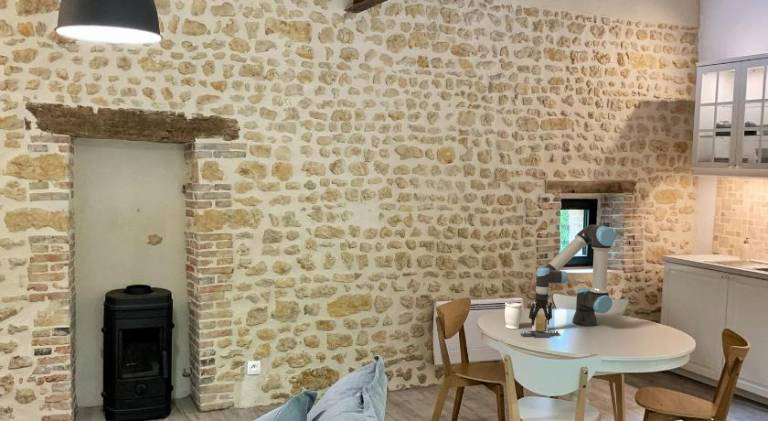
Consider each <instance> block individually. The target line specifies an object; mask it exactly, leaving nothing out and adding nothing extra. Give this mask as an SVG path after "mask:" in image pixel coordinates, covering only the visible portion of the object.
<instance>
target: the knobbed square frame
mask: <svg viewBox="0 0 768 421" xmlns="http://www.w3.org/2000/svg"><path fill="white" fill-rule="evenodd" d="M520 335H521V336H520V337H522V336H523V337H522V338H535V339H549V338H551V337H560V332H559V331H558V330H547V331H545V330H544V331H534V330H528V331H521V333H520Z"/></svg>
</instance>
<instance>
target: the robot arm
mask: <svg viewBox="0 0 768 421" xmlns="http://www.w3.org/2000/svg"><path fill="white" fill-rule="evenodd" d="M615 241H616V233H615V231H614V230H613V229H612V228H611V227H608V226H606V225H599V224H590V225H587V226H586V227H584V228H583V229H581V230H580V231H579V232H577V234H576V235H574V238H573V240H571V242H569V244H568V245H566V247H564V248H563V249H562V250H561V251H560V252H559V253H558V254H557V255H555V257H554V258H553V259H552V260H551V261H550V262H548V263H547V264H546V266H541V267H538V268H537V269H536V278H535V280H536V282H535V296H534V297H535V301H534V302H530V308H529V309H530V310H529V314H528V319H530V320H531V325H532V326H531V327H532V330H531V331H536V316H537V314H539V311H540V309H542V310H543V314H544V315H545V329H544V331H545V332H548V325H549V324H550V321H551V319H553V310H552V306H553V302H550V301H549V289H550V286H549V285H550V284H560V285H561V284H565V283H567V282H568V278H569V277H568V274H567V271H565V270H561V269H562V268H563V267H564V266H566V264H567V263H568V262H569V261H571V259H572V258H574V257H575V255H577V254H578V253H579V252H580V251H581V250H582V249H583V248H585V247H587V246H589V245H590V244H591V247H590V248H591V249H593V261H592V284H591V285H592V286H591V287H579V288H578V289H577V291H576V303H575V305H576V306H575V312H574V315H573V317H572V323H573V324H576V325H578V326H586V327H594V326H597V324H598V320H597V316H596V313H598V314H599V313H600V314H605V313H607V312H609V311H610V310H611V308H612V306H613V299H612V298H611V297H610V291H609V290H608V289H607V288H608V287H607V285H608V268H609V267H608V266H609V264H608V263H609V250H611V249H612V245H613V244H614V243H615Z"/></svg>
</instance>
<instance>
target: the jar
mask: <svg viewBox="0 0 768 421" xmlns="http://www.w3.org/2000/svg"><path fill="white" fill-rule="evenodd" d="M504 305H505V307H504V320H505V328H507V329H511V330H517V329H520V323H521V320H522V314H523V313H522V307H523V304H522V303H521V302H515V301H507V302H505V303H504Z"/></svg>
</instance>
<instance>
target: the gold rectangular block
mask: <svg viewBox="0 0 768 421" xmlns="http://www.w3.org/2000/svg"><path fill="white" fill-rule="evenodd" d="M545 319H546V317H545V314H544V313H538V314H537V316H536V318H535V320H536V330H537V331H544V332H545V330H544V329H545Z"/></svg>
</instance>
